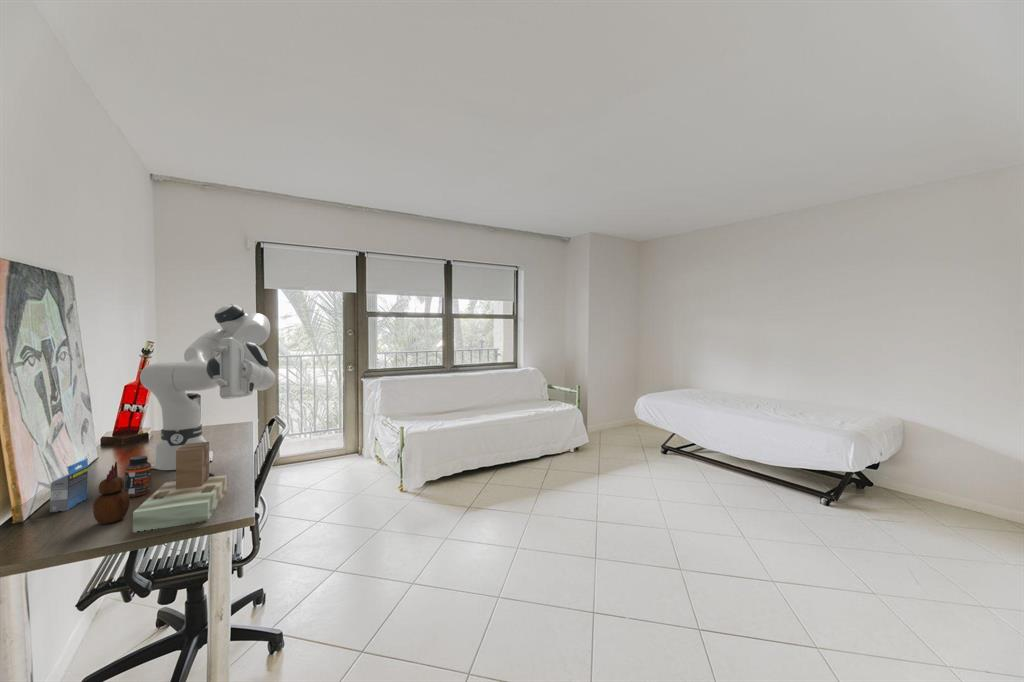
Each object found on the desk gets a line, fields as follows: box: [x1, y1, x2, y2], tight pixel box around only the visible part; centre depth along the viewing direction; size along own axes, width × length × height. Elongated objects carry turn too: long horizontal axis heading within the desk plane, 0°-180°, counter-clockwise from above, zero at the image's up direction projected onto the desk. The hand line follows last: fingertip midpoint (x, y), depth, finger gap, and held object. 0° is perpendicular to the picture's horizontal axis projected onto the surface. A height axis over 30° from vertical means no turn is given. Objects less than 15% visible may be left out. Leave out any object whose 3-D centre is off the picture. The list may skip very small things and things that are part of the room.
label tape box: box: [49, 457, 89, 513], centre depth 113 cm, size 9×4×12 cm, turn 22°
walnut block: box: [175, 441, 210, 489], centre depth 118 cm, size 8×6×11 cm
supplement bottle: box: [124, 455, 152, 498], centre depth 122 cm, size 6×6×11 cm
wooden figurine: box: [92, 461, 131, 525], centre depth 104 cm, size 7×6×15 cm
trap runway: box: [132, 474, 228, 533], centre depth 112 cm, size 23×15×5 cm, turn 25°
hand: (215, 363), depth 124 cm, fingers open, 8 cm apart
